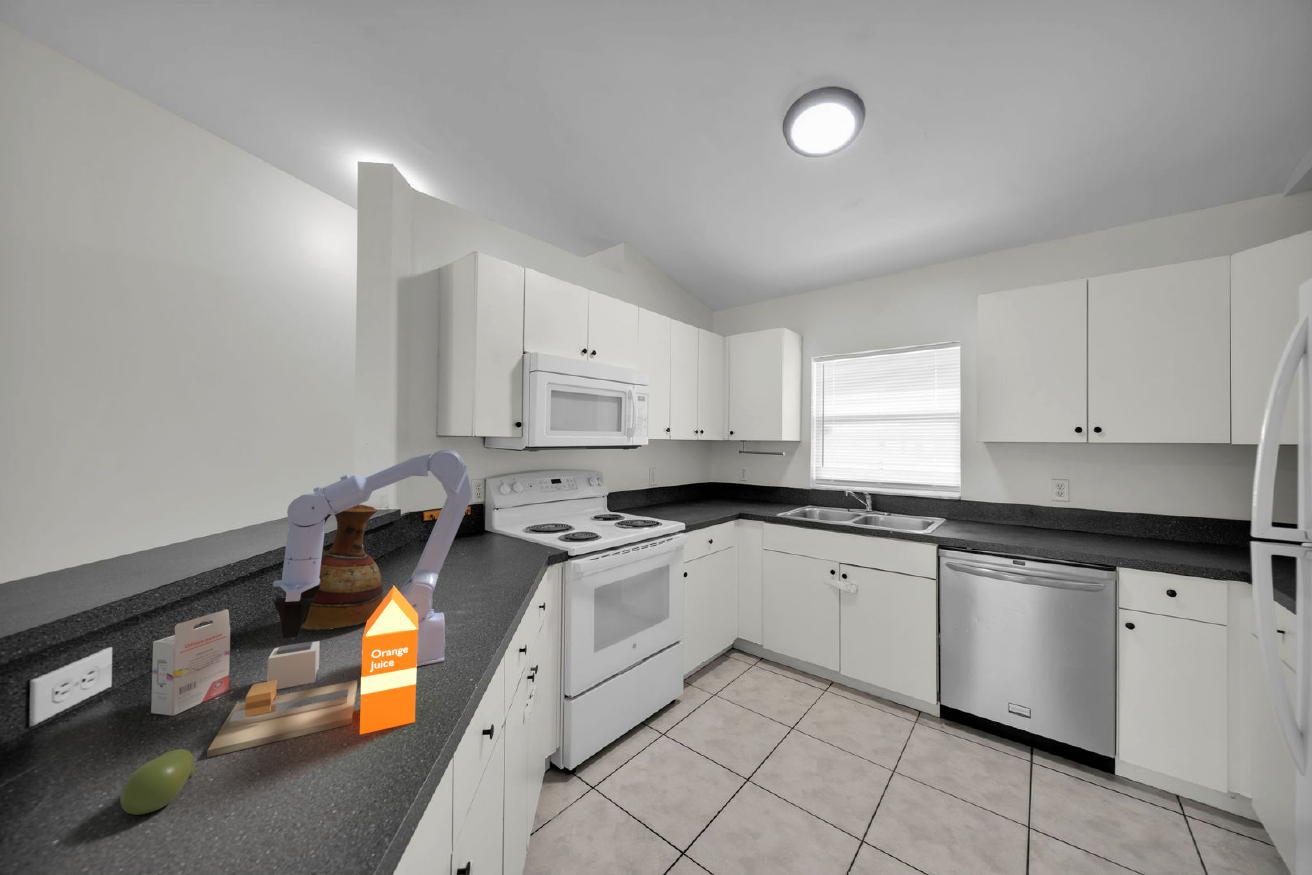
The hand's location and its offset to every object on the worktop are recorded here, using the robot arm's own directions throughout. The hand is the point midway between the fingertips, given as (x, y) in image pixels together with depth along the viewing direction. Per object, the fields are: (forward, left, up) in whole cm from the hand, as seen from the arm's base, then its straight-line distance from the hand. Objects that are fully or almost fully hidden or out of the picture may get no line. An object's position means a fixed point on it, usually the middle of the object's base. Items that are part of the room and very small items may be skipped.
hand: (294, 630), depth 88 cm
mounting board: (-2, +15, -9) cm, 18 cm away
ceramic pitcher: (-4, -31, -10) cm, 33 cm away
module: (0, 0, -9) cm, 9 cm away
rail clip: (+2, +15, -7) cm, 17 cm away
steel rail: (-2, +15, -9) cm, 18 cm away
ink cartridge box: (+14, +1, -10) cm, 17 cm away
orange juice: (-16, +22, -10) cm, 28 cm away
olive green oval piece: (+9, +29, -10) cm, 32 cm away
